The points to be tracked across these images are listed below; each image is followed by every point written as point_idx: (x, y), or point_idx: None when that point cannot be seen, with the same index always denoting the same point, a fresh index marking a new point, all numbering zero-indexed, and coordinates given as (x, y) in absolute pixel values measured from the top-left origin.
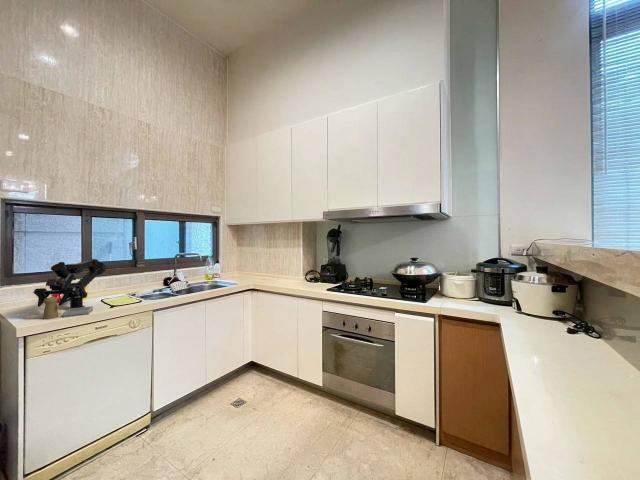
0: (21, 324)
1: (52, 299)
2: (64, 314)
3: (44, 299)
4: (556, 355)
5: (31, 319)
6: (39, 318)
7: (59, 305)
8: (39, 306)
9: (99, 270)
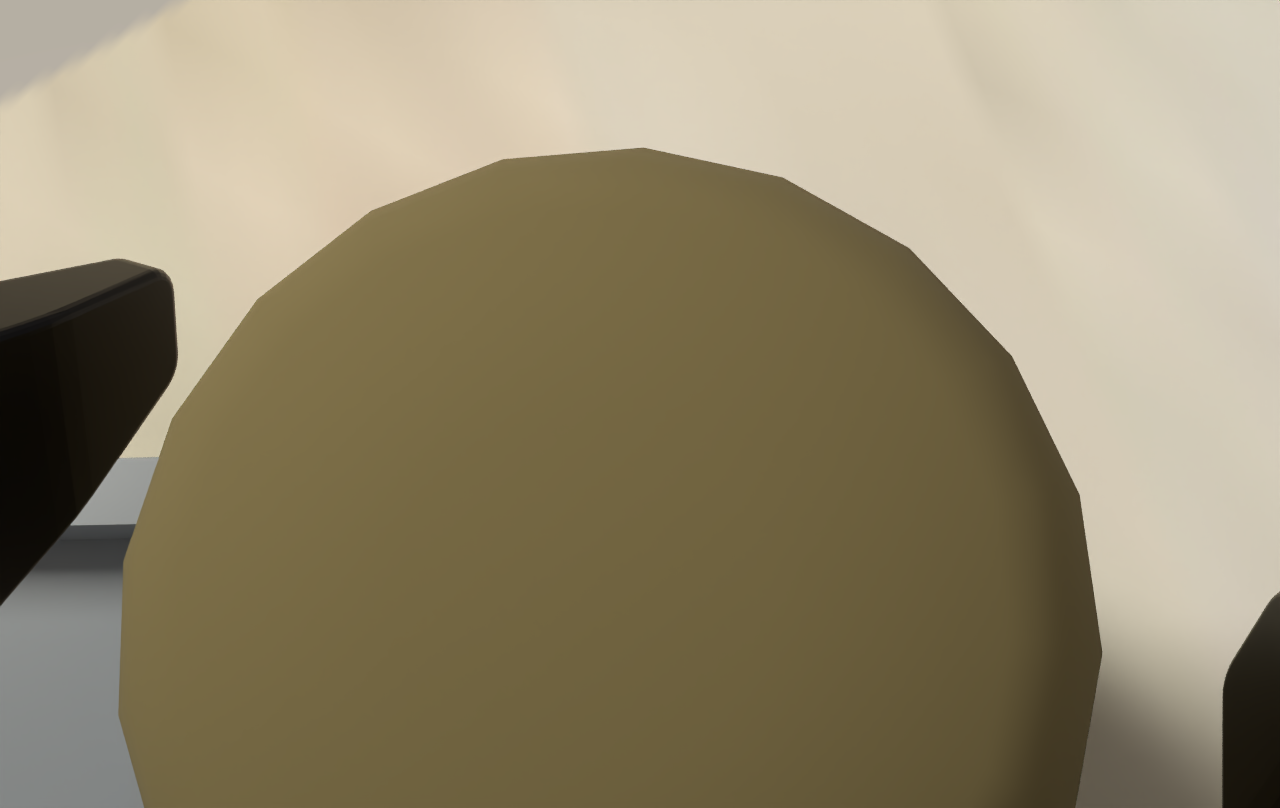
0: (1239, 74)
1: (373, 219)
2: None
3: (1061, 473)
4: None
5: None
6: None
7: (153, 322)
8: (1232, 685)
9: None
